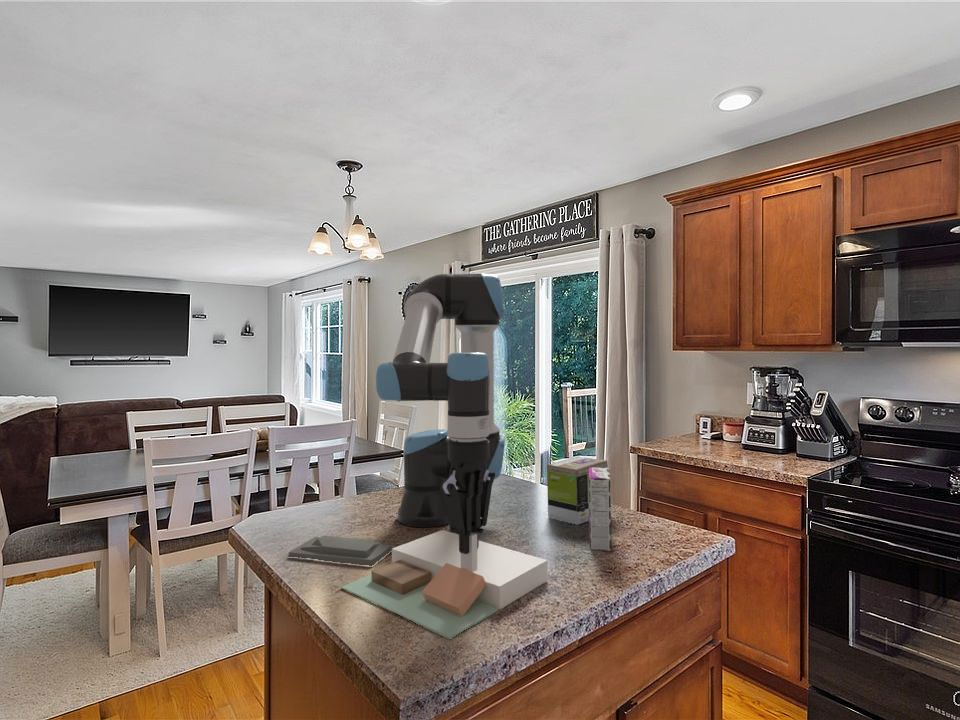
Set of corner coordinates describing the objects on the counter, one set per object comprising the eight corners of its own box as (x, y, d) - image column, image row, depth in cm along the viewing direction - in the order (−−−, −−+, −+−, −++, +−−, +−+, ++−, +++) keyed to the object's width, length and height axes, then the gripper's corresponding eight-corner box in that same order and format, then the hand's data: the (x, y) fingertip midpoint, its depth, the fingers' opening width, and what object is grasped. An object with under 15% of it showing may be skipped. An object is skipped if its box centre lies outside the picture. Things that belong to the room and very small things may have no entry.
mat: (340, 588, 100) (340, 586, 100) (390, 568, 109) (390, 566, 109) (450, 639, 82) (450, 637, 82) (498, 610, 91) (498, 608, 91)
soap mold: (315, 544, 125) (315, 529, 125) (393, 553, 119) (393, 537, 119) (287, 561, 115) (287, 545, 115) (371, 571, 109) (371, 554, 109)
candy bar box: (588, 533, 130) (588, 466, 130) (609, 535, 129) (609, 467, 129) (588, 550, 119) (588, 477, 119) (611, 552, 118) (611, 478, 118)
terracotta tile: (425, 600, 94) (421, 592, 94) (449, 570, 99) (446, 562, 98) (462, 616, 89) (458, 608, 88) (486, 584, 93) (483, 576, 92)
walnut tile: (371, 581, 102) (371, 570, 102) (399, 569, 108) (399, 560, 108) (402, 595, 96) (402, 584, 96) (430, 582, 102) (430, 571, 102)
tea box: (579, 506, 153) (579, 455, 153) (609, 513, 146) (609, 460, 146) (546, 518, 143) (546, 462, 143) (577, 526, 136) (577, 468, 136)
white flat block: (392, 568, 110) (391, 548, 110) (442, 547, 121) (442, 529, 121) (499, 609, 92) (499, 586, 92) (547, 580, 103) (547, 560, 103)
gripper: (460, 445, 88) (460, 587, 89) (506, 435, 98) (507, 563, 99) (427, 440, 93) (428, 575, 93) (475, 432, 103) (476, 553, 103)
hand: (469, 569), depth 96 cm, fingers closed
